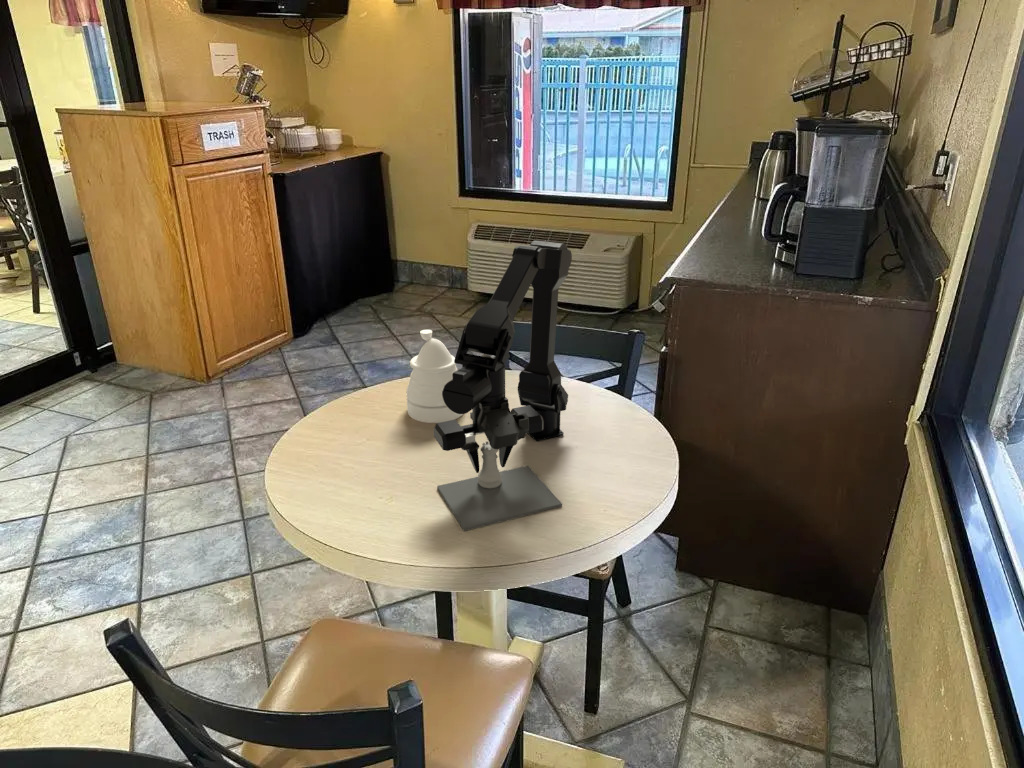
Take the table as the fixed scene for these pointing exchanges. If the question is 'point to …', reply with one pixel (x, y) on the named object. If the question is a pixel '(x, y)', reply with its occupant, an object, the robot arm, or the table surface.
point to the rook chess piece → (489, 468)
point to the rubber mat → (498, 498)
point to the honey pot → (430, 382)
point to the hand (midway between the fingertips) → (489, 469)
